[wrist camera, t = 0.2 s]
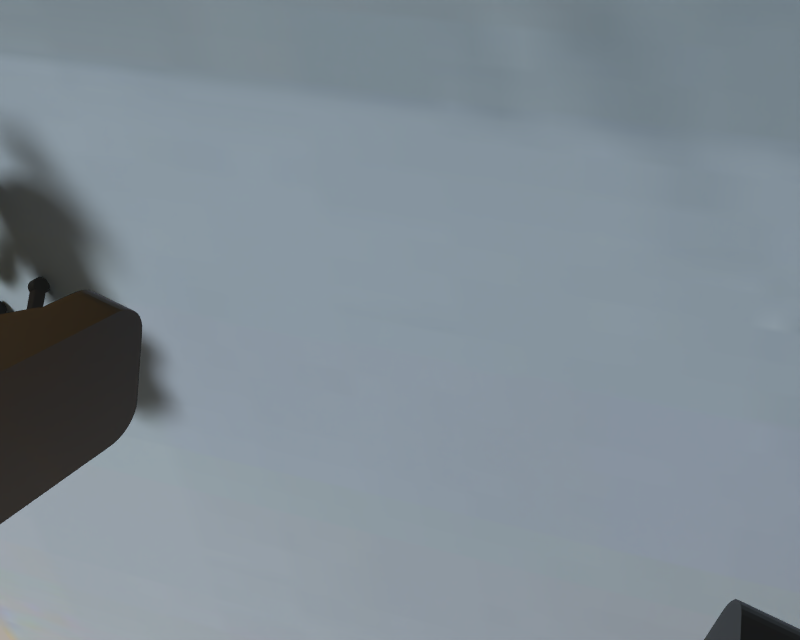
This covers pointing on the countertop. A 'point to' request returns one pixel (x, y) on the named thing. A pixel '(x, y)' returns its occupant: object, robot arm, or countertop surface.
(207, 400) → the countertop surface
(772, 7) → the countertop surface
